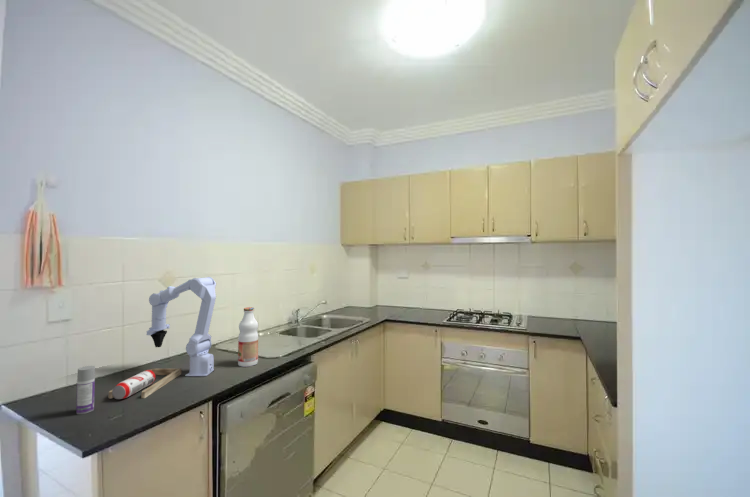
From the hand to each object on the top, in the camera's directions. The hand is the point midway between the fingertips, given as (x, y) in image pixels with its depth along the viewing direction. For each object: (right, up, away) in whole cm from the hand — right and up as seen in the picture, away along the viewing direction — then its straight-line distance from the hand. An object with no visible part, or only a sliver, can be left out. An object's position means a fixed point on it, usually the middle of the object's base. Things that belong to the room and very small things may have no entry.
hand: (158, 346), depth 157 cm
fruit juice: (+40, -11, +8) cm, 42 cm away
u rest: (+9, -10, -20) cm, 24 cm away
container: (+2, -10, -42) cm, 43 cm away
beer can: (+8, -7, -18) cm, 21 cm away
